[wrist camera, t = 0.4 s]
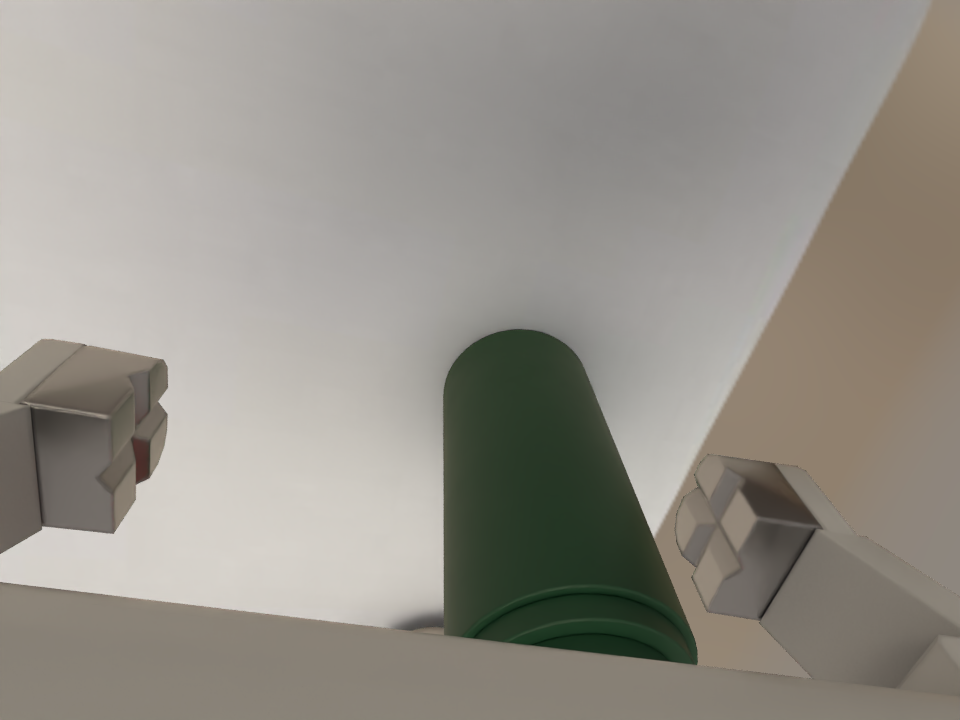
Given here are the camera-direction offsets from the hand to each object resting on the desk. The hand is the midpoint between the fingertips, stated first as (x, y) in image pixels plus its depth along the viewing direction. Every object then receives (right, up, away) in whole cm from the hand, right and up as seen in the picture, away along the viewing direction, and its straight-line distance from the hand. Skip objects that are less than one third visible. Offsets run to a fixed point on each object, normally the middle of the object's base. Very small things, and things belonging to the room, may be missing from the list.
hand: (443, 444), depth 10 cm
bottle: (+2, 0, +19) cm, 19 cm away
